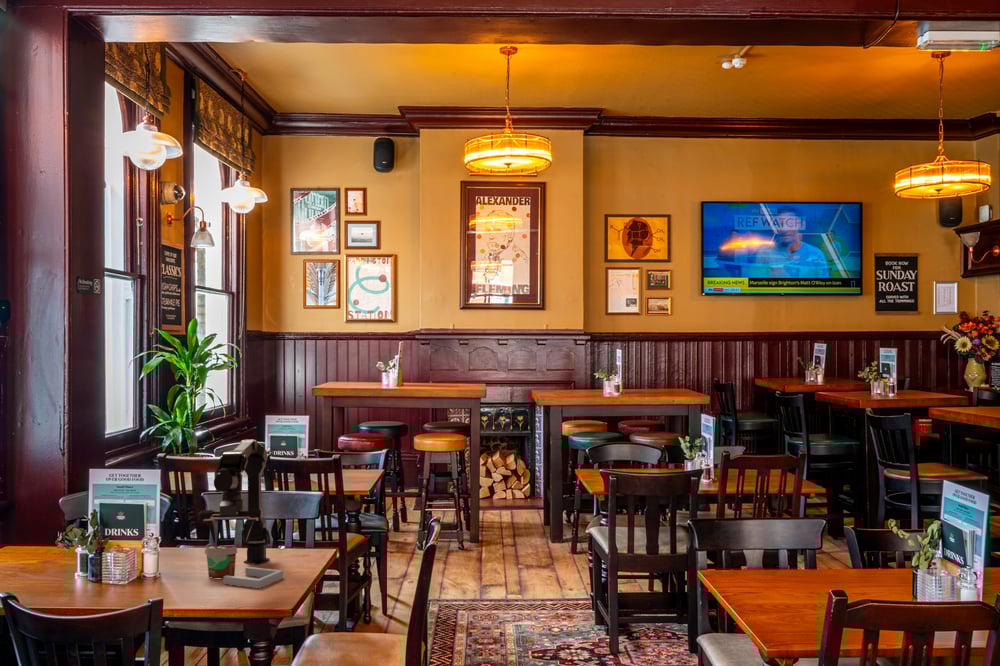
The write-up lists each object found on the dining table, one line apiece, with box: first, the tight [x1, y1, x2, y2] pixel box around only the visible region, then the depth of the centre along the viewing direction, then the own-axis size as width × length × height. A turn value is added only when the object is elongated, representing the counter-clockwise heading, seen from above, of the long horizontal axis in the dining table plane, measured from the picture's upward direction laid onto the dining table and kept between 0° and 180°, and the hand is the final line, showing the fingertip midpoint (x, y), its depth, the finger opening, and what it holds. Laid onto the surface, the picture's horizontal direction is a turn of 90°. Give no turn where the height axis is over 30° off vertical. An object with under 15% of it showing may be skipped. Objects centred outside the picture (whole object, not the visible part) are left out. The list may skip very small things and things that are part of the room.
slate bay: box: [223, 566, 284, 589], centre depth 257 cm, size 12×14×2 cm
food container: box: [204, 542, 238, 579], centre depth 263 cm, size 12×6×10 cm, turn 62°
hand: (230, 542), depth 250 cm, fingers open, 9 cm apart
